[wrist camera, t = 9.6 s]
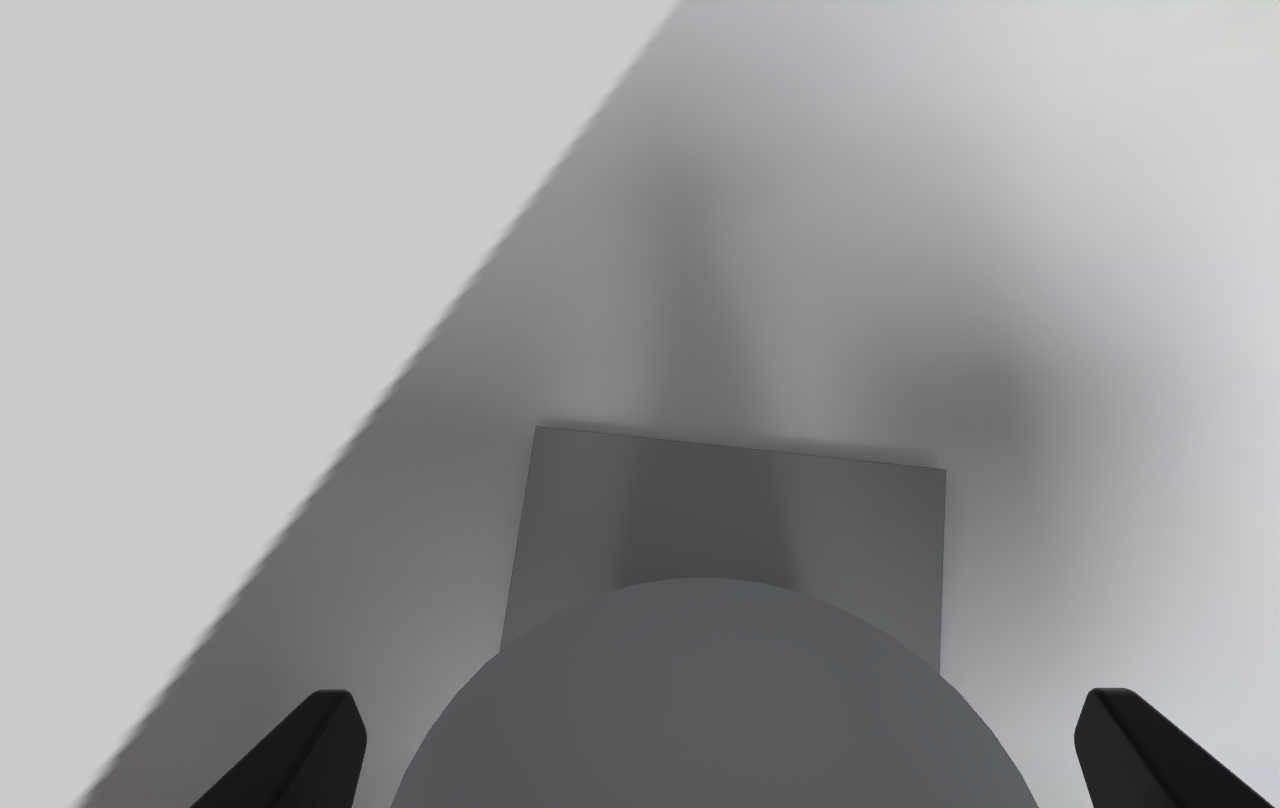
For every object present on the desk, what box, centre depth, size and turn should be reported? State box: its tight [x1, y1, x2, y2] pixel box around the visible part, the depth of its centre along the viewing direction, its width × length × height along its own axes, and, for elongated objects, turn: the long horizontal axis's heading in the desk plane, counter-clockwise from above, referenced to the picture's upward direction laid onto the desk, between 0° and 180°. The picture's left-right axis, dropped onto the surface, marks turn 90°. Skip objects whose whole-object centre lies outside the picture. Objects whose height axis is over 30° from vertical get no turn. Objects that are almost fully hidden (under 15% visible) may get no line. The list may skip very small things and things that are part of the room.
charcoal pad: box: [500, 426, 946, 674], centre depth 17 cm, size 12×10×1 cm
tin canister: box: [390, 578, 1039, 808], centre depth 11 cm, size 5×5×12 cm
